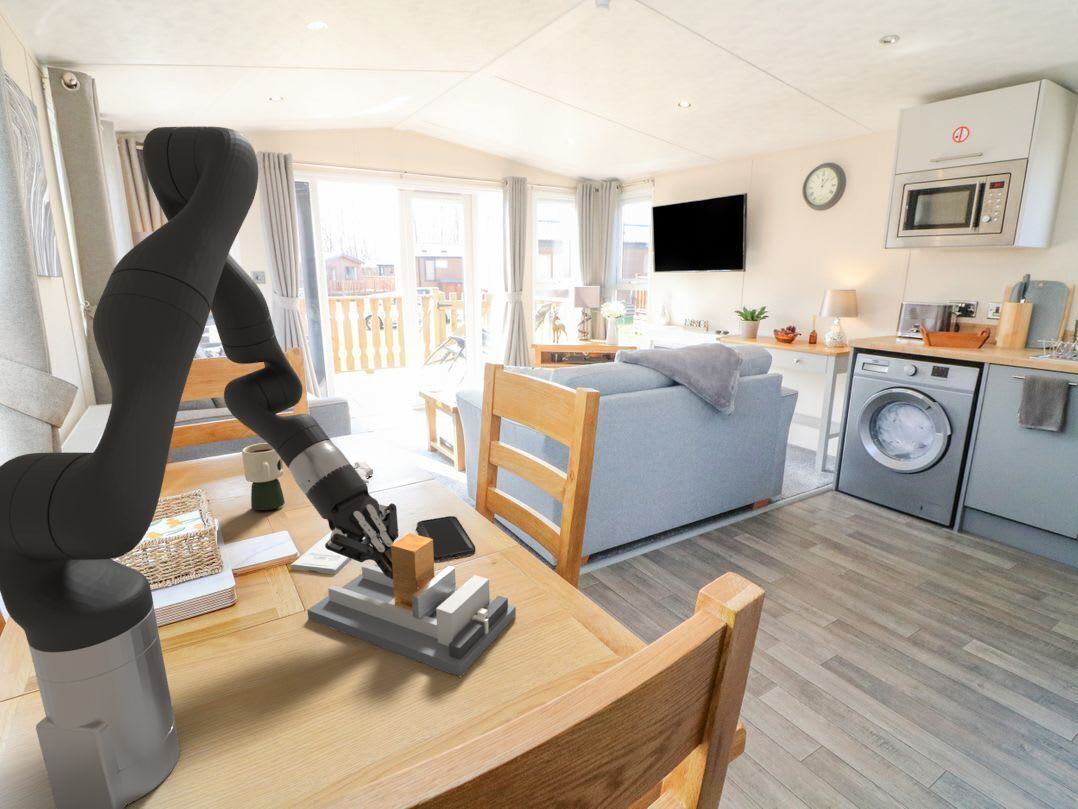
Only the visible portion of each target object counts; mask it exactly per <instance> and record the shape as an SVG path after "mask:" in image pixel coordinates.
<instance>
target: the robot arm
mask: <svg viewBox="0 0 1078 809" xmlns="http://www.w3.org/2000/svg"><path fill="white" fill-rule="evenodd" d="M142 162H143V166H144V169H145V172H146V175H147V178H148V182H149V184H150V187H151V190H152V192H153V193H154V196H155V197H156V200H157V202H158V205H159V206H160V208H161V209H162V212H163V214H164V216H165V218H166V220H167V222H166V223H164V224H163V225H161V226H160V227H158V228H157V229H156V230H154V231H153V232H152V233H151V234H149V235H148V236H146V237H145V238H144V239H142V240H141V241H140V242H138V243H137V244H136V245H135V246H133V247H132V248H131V249H130V250H129V251H128V252H127V253H126V254H124V255H123V256H122V258H120V260H119V262H117V264H116V266H114V268H113V270H112V272H111V274H110V276H109V278H108V281H107V282H106V285H105V287H104V289H103V292H102V295H101V297H100V298H99V301H98V303H97V305H96V309H95V311H94V315H93V319H92V320H93V321H92V331H93V338H94V341H95V344H96V345H95V346H96V348H97V350H98V354H99V356H100V360H101V361H102V365H103V366H104V369H105V372H106V374H107V378H108V380H109V383H110V387H111V388H110V389H111V395H112V396H111V407H110V410H109V414H108V418H107V421H106V423H105V427H104V430H103V433H102V435H101V439H100V440H99V443H98V445H96V448H95V449H94V451H93V452H32V453H31V452H30V453H26V454H22V455H18V456H16V457H14V458H10V459H9V460H7V461H5V462H4V463H2V464H1V465H0V594H1V598H2V601H3V605H4V607H5V609H6V612H7V613H8V615H9V617H10V618H11V619H12V620H13V621H14V623H16V624H17V625H18V626H19V627H20V628H22V630H23V631H24V634H25V636H26V641H27V643H28V648H29V652H30V656H31V660H32V663H33V667H34V673H35V676H36V681H37V685H38V689H39V693H40V697H41V701H42V706H43V709H44V710H43V711H44V715H45V717H43V718H42V719H41V720H40V721H38V723H36V725H35V732H36V735H37V739H38V742H39V746H40V750H41V755H42V759H43V761H44V766H45V770H46V773H47V779H48V782H49V785H50V786H49V787H50V789H51V794H52V798H53V803H54V806H55V809H56V808H57V809H125V808H126V805H127V804H128V805H130V804H132V803H133V801H134V802H135V801H137V800H139V799H141V798H143V797H144V796H145V795H147V794H149V793H150V792H152V791H153V790H155V789H156V787H158V786H159V785H160V784H161V783H162V782H163V781H164V780H165V779H166V778H167V777H168V776H169V774H171V772H172V771H173V770H174V768H175V766H176V765H177V762H178V760H179V757H180V753H181V752H180V751H181V750H180V749H181V747H180V744H179V742H180V741H179V737H178V731H177V726H176V719H175V714H174V709H173V706H172V705H173V704H172V698H171V693H170V689H169V688H170V687H169V682H168V676H167V671H166V666H165V660H164V655H163V649H162V643H161V639H160V633H159V629H158V628H159V627H158V622H157V616H156V611H155V605H154V600H153V594H152V589H151V585H150V582H149V580H148V578H147V577H146V576H145V575H144V574H143V573H142V572H141V571H139V570H137V569H134V568H133V567H130V566H127V565H125V564H122V563H119V561H118V562H117V561H115V560H114V559H117V558H121V557H123V556H125V555H127V554H128V553H130V552H131V551H133V550H134V549H135V548H136V547H137V546H138V545H139V544H140V543H141V541H142V540H143V538H144V537H145V535H146V533H147V532H148V530H149V529H150V527H151V523H152V521H153V520H154V515H155V513H156V510H157V507H158V504H159V500H160V497H161V493H162V487H163V482H164V478H165V473H166V468H167V465H168V464H167V463H168V458H169V453H170V449H171V448H170V447H171V444H172V438H173V433H174V428H175V424H176V420H177V416H178V415H177V414H178V412H179V407H180V403H181V400H182V397H183V393H184V391H185V387H186V384H187V380H188V377H189V373H190V371H191V368H192V365H193V363H194V362H193V361H194V359H195V355H196V354H197V350H198V347H199V345H200V344H201V340H202V337H203V335H204V332H205V329H206V325H207V322H208V319H209V315H210V313H211V314H212V315H211V316H212V318H213V321H214V325H215V327H216V331H217V334H218V336H219V341H220V343H221V346H222V349H223V352H224V354H225V356H226V358H227V359H228V360H229V361H230V362H233V363H234V364H240V365H241V364H242V365H247V364H248V365H250V364H259V363H263V364H264V367H263V368H260V369H258V370H255V371H252V372H249V373H247V374H244V375H242V376H239V377H236V378H234V379H232V380H230V381H229V382H228V383H227V384H226V385H225V388H224V390H223V392H224V393H223V399H224V404H225V406H226V408H227V409H228V411H229V412H230V413H231V415H232V416H233V417H234V418H235V419H236V420H237V421H239V422H240V423H241V424H242V425H244V426H245V427H247V428H248V429H249V430H250V431H252V432H253V433H255V434H256V435H257V436H259V437H260V438H261V439H262V440H263V441H264V442H265V443H268V444H269V445H270V446H272V447H273V449H274V450H275V451H276V452H277V454H278V455H279V456H280V458H281V459H282V461H283V464H285V466H286V467H287V469H288V471H289V472H290V473H291V475H292V478H293V479H294V481H295V483H296V484H297V486H298V487H299V488H300V490H301V491H302V492H303V494H304V495H305V496H306V499H308V500H309V502H310V504H311V505H312V506H313V507H314V509H315V511H317V513H318V514H319V516H320V517H321V518H322V519H323V520H327V523H328V528H329V529H330V531H332V533H331V537H330V539H329V541H328V542H327V543H326V544H325V547H326V549H328V550H330V551H333V552H335V553H338V554H341V555H343V556H346V557H348V558H351V560H354V561H356V562H359V563H364V562H365V561H370V560H371V561H374V563H375V565H378V566H379V568H380V569H381V570H382V572H383V573H384V574H385V576H387V577H389V578H390V579H393V568H392V553H391V545H392V544H394V543H395V542H396V539H398V538H399V527H398V523H399V522H398V512H397V506H396V504H394V503H390V504H389V505H383V504H379V501H378V500H377V499H376V498H374V497H373V496H371V495H370V493H369V490H368V489H369V487H368V484H367V483H365V482H364V481H363V479H362V478H361V477H360V476H359V474H358V473H357V472H356V470H355V469H354V468H353V466H354V465H352V464H351V462H350V461H349V459H348V458H347V457H346V455H345V454H344V453H343V452H342V450H340V449H339V448H338V446H337V445H335V443H334V442H333V441H332V440H331V438H330V437H329V436H328V435H327V434H326V432H325V431H324V430H323V428H322V426H320V424H319V423H318V421H317V420H316V419H315V418H314V417H313V416H311V415H310V414H308V413H299V414H293V415H286V416H283V415H278V414H279V413H282V412H284V411H286V410H288V409H291V408H293V407H295V406H297V405H298V404H299V403H300V400H301V399H302V396H303V384H302V381H301V379H300V377H299V375H298V374H297V373H296V371H295V369H294V368H293V367H292V365H291V363H290V362H289V360H288V359H287V357H286V355H285V353H284V351H283V350H282V347H281V346H280V344H279V343H280V342H279V341H278V339H277V334H276V333H275V332H276V331H275V328H274V325H273V321H272V320H273V319H272V316H271V312H270V310H269V309H270V308H269V306H268V303H267V300H266V298H265V296H264V294H263V293H262V290H261V289H260V287H259V286H258V284H257V283H256V282H255V280H253V278H252V277H251V276H250V275H249V274H248V273H247V271H245V270H244V268H243V267H242V266H241V265H240V264H239V263H238V262H237V261H236V260H235V259H234V257H232V255H231V254H230V251H231V250H232V247H233V244H234V242H235V241H236V238H237V236H238V234H239V232H240V230H241V228H242V226H243V224H244V221H245V220H246V217H247V215H248V213H249V211H250V209H251V207H252V205H253V202H254V199H255V196H256V192H257V190H258V182H259V164H258V158H257V154H256V151H255V149H254V147H253V145H252V143H251V142H250V141H249V139H247V137H245V135H243V134H242V133H240V132H239V131H237V130H235V129H232V128H227V127H224V126H222V127H221V126H160V127H155V128H153V129H151V130H150V131H149V132H147V134H146V135H145V137H144V140H143V144H142ZM366 484H367V485H366ZM364 537H365V539H364V540H363V538H364ZM131 802H132V803H131ZM129 803H130V804H129ZM128 805H127V806H128ZM124 807H125V808H124Z"/></svg>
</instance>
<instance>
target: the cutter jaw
mask: <svg viewBox="0 0 1078 809" xmlns="http://www.w3.org/2000/svg"><path fill="white" fill-rule="evenodd" d="M391 553H392V568H393V584H394V599H392V600H391V601H390V602H388V603H389V604H392V605H395V606H398V607H401V608H404V609H407V610H410V611H413V617H415V618H418V619H420V618H421V617H422V616H423V615H425V616H428V617H429V616H430V615H432V614H433V613H434V612H435V611H436V608H437V607H438V606H440V605H441V604H442V603H443V598H444V597H445V596H446V595H448V594H449V593H450V592H451V591H452V590H453V589H454V588H456V589H457V586H456V584H457V583H456V567H454V566H451V565H449V566H447V567H446V568H444V570H442V571H440V572H439V574H437V575H435V562H434V555H433V539H430V538H426V537H423V536H421V535H420V534H419V535H418V534H415V533H411V532H410V533H408V534H406V535H404V536H403V537H402V538H400V539H398V540H397V541H394V542H393V544H392V545H391Z"/></svg>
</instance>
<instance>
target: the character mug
mask: <svg viewBox="0 0 1078 809" xmlns="http://www.w3.org/2000/svg"><path fill="white" fill-rule="evenodd" d="M241 456H242V464H243V470H244V478H245V480H246V481H247V482H251V489H250V490H251V494H250V495H251V496H250V498H251V499H250V500H251V502H250V503H251V504H250V505H251V506H250V508H251V510H254V511H263V510H264V511H265V510H268V511H271V510H273V509H278V508H281V507H283V505H284V504H285V503H286V502H285V497H284V494H283V493H284V492H283V489H282V485H281V482H280V480H279V479H278V478H280V477H282V476H283V475H284V462H283V460H282V459H281V458H280V456H279V455H278V454H277V452H276V451H275V450H274V449H273V447H272V446H270V445H269V444H268V443H267V442H261V443H260V442H259V443H255V444H251V445H247V446H245V447H244V448H242V450H241Z"/></svg>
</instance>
